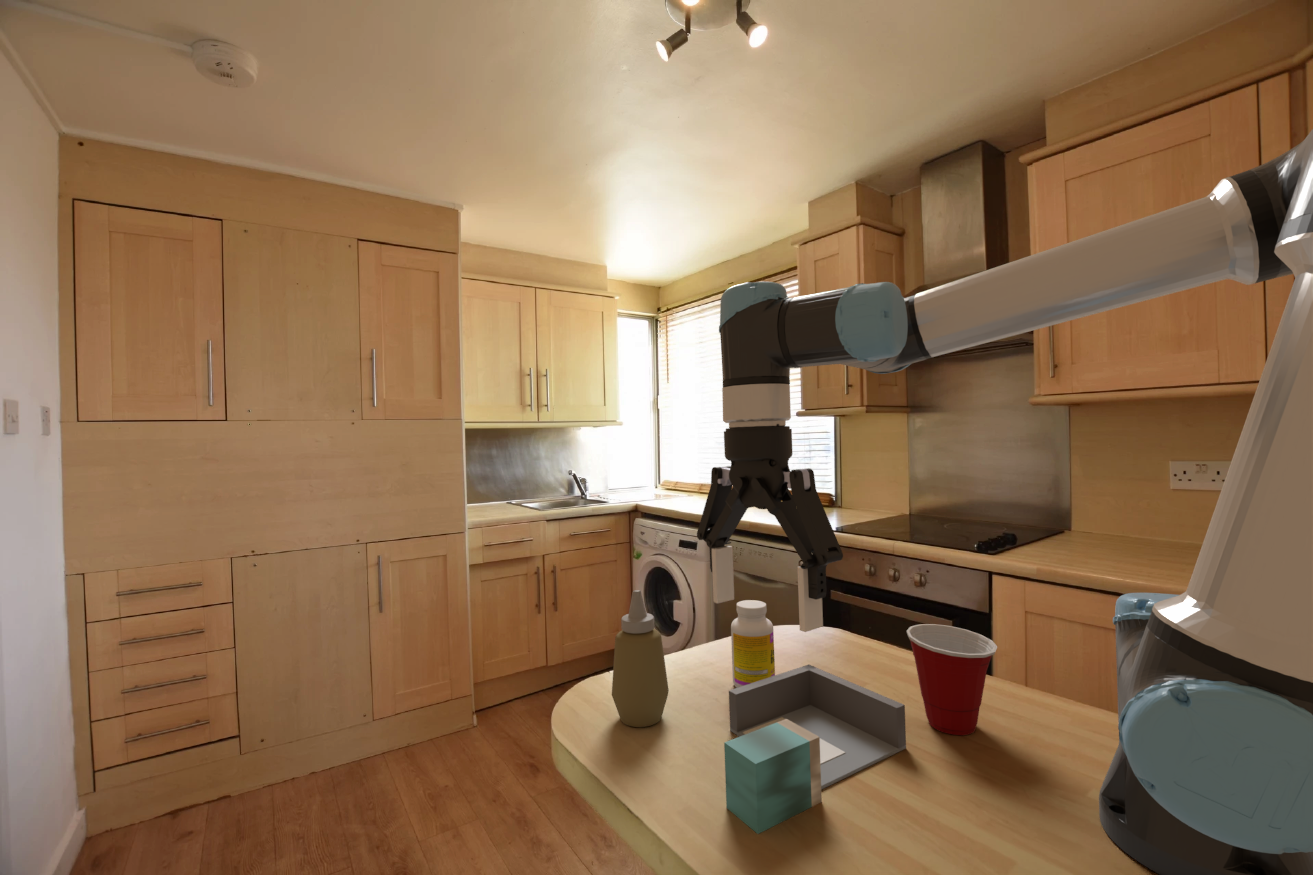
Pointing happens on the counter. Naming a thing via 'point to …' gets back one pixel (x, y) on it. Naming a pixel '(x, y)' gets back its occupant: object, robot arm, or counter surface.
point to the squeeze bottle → (639, 668)
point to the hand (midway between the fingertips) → (764, 613)
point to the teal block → (772, 774)
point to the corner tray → (824, 717)
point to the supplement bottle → (752, 644)
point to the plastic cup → (951, 674)
